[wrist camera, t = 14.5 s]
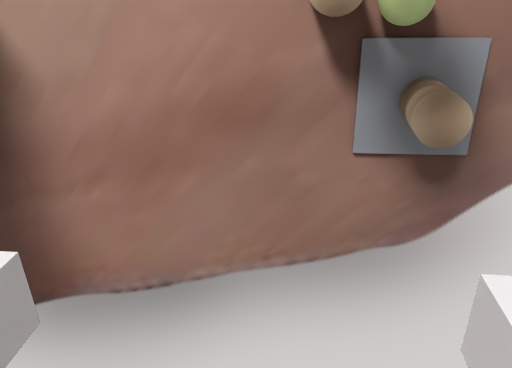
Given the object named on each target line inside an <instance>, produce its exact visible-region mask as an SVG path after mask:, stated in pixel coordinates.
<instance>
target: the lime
mask: <svg viewBox="0 0 512 368" xmlns="http://www.w3.org/2000/svg"><path fill="white" fill-rule="evenodd" d="M435 2H436V0H378V7H379V10H380V12H381V14H382V15H383V17H384V18H385V19H386V20H387V21H389V22H390V23H392V24H395V25H398V26H408V25H412V24H415V23H417V22H419V21H421V20H422V19H424V18H425V17H426V16H427V15H428V14H429V13H430V11H431V10H432V8H433V6H434V4H435Z"/></svg>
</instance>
